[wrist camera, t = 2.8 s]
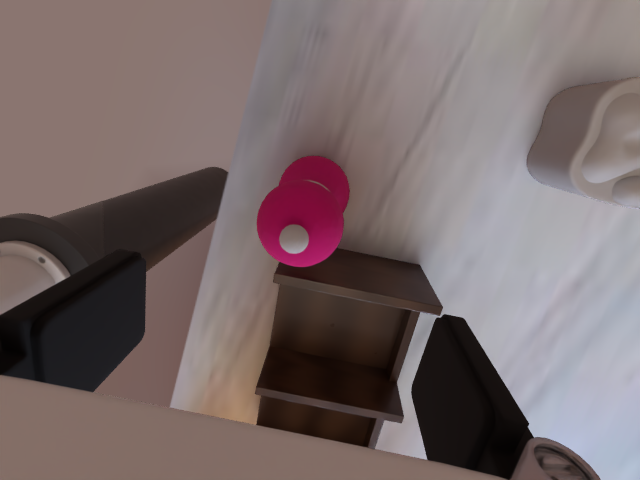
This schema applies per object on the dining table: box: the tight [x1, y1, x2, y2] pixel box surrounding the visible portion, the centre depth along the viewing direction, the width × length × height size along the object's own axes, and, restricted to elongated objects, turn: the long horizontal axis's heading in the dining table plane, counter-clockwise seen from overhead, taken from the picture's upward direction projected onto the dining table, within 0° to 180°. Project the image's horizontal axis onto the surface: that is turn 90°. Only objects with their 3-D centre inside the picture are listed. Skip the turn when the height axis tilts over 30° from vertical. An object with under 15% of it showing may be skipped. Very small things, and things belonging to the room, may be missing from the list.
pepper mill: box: [257, 156, 350, 267], centre depth 29 cm, size 7×7×20 cm
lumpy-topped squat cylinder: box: [527, 77, 640, 209], centre depth 31 cm, size 10×13×9 cm
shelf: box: [255, 248, 443, 449], centre depth 41 cm, size 16×28×10 cm, turn 169°
